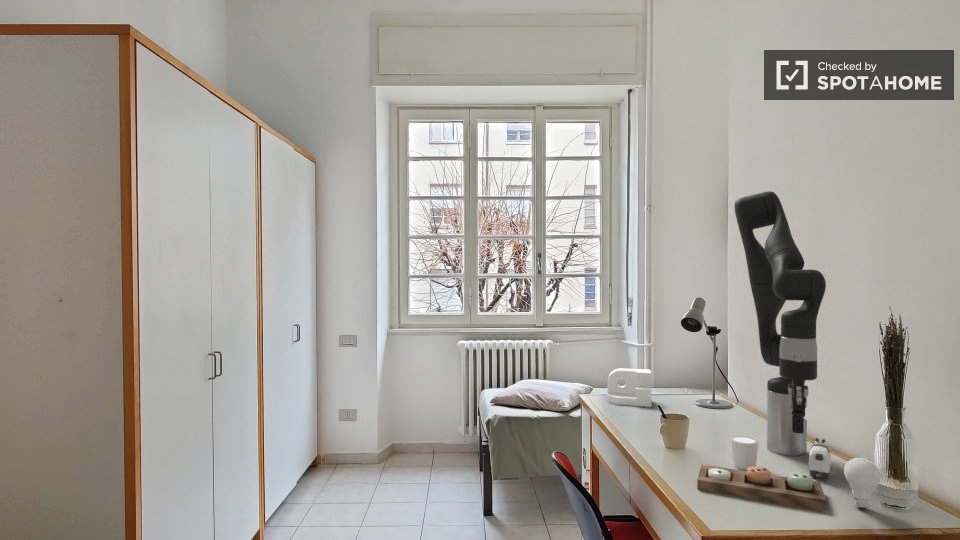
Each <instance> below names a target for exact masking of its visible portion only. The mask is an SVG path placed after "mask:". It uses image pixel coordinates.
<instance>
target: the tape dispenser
mask: <svg viewBox="0 0 960 540" xmlns="http://www.w3.org/2000/svg"><path fill="white" fill-rule="evenodd" d="M607 377H608V378H607V385H606V386H607V388H606V389H607V390H606V392H607V394H606V397H607V398H606V400H607V401H606V402H607V403H610V404H614V405H619V406H632V407H643V406H645V408H652V371H651V369H646V368H645V369H644V368H643V369H642V368H624V367H623V368H622V367H620V368H615V369H613V370H612V371H611V372H610V373H609V375H608V376H607ZM620 380H622V381H624V382H625V384H624V385H619V384H618V382H619V381H620Z"/></svg>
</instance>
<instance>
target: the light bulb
mask: <svg viewBox="0 0 960 540" xmlns="http://www.w3.org/2000/svg"><path fill="white" fill-rule="evenodd" d="M843 472H844V477H845V479H846V480H847V482H848V484H849V485H850V488H851V491H852V493H851V494H852V495H853V497H854V498H853V505H854V506H856V507H857V508H859V509H862V510H865V509H868V508H870V506H871V505H870V502H871V498H872V494H873V491H874V490H875V489H876V487H877V486H878V485H879V484H880V482H881V471H880V469H879V467H878V466H877V465H876V464H875V463H874V462H872V460H870V459H867V458H865V457H853V458H851V459H849V460H848V461H847V462H846V463H845V465H844V469H843Z"/></svg>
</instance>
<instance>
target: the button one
mask: <svg viewBox="0 0 960 540" xmlns="http://www.w3.org/2000/svg"><path fill="white" fill-rule="evenodd" d="M708 478H714V479H721V480H727V481H731V473H730V472H729V471H727V470H724V469H718V468H713V469H709V470H708Z"/></svg>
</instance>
